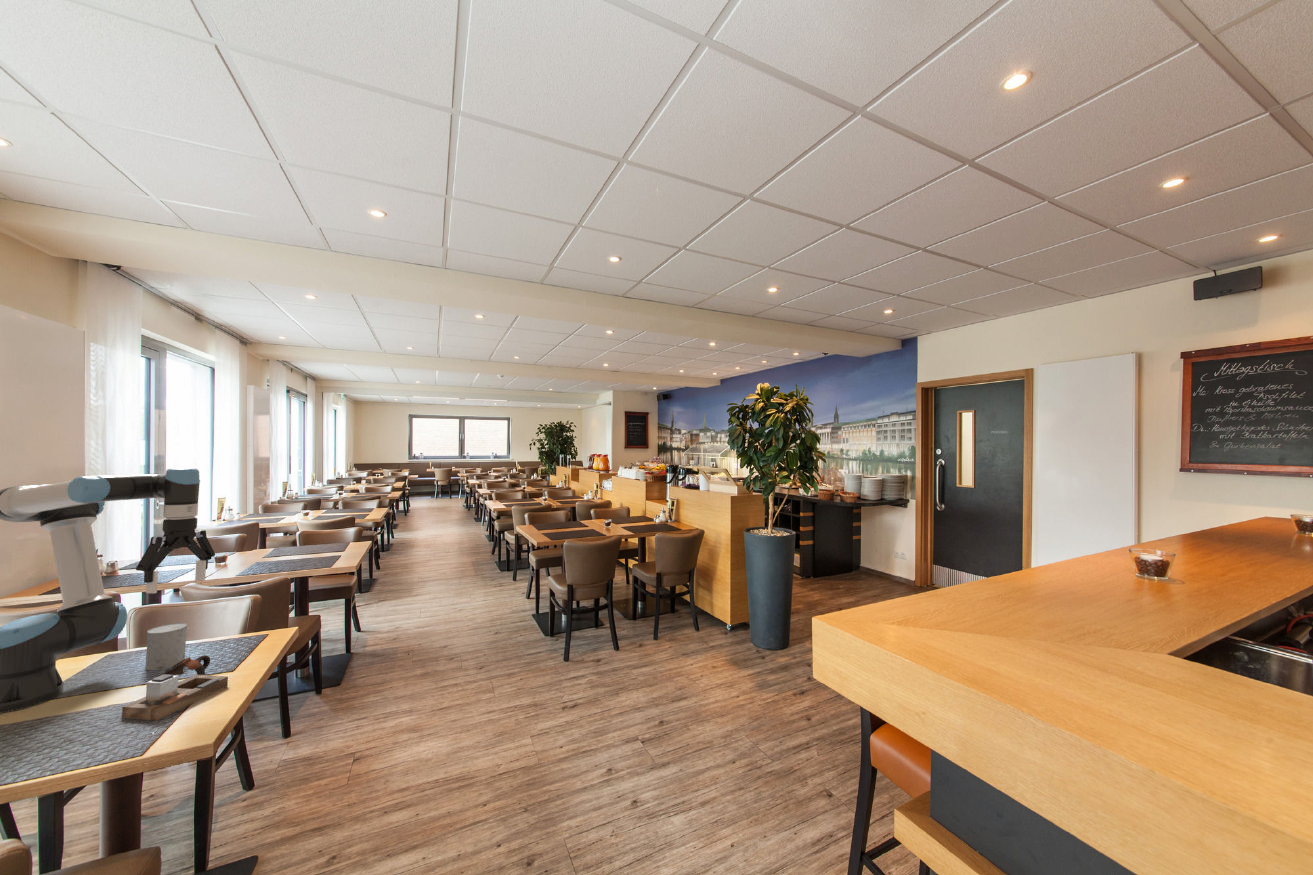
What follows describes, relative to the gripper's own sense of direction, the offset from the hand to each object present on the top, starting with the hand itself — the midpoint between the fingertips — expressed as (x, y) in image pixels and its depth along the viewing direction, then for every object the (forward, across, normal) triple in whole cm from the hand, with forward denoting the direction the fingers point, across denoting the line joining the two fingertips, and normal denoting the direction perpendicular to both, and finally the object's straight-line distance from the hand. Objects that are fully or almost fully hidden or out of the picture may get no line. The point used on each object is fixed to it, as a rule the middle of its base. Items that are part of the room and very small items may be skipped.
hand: (176, 586), depth 144 cm
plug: (+32, -9, -8) cm, 34 cm away
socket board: (+32, -5, -8) cm, 33 cm away
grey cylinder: (+32, +16, +22) cm, 42 cm away
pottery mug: (+32, +7, +2) cm, 33 cm away
